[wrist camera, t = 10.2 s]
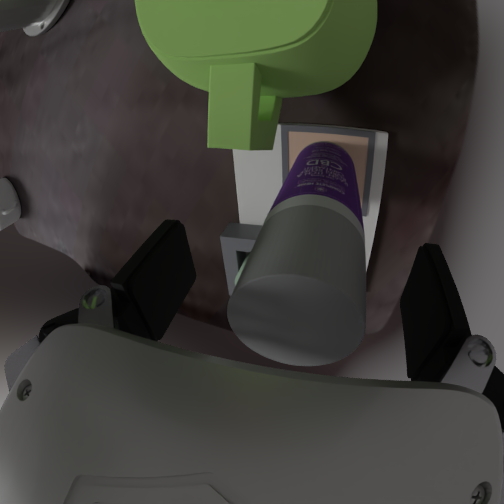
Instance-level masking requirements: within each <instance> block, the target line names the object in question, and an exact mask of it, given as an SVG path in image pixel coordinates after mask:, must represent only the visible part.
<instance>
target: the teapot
mask: <svg viewBox="0 0 504 504" xmlns="http://www.w3.org/2000/svg"><path fill="white" fill-rule="evenodd" d="M135 5H136V12H137V17H138V21H139V25H140V27H141V30H142V33H143V35H144V37H145V39H146V41H147V43H148V44H149V46H150V48H151V49H152V51H153V52H154V53H155V54H156V56H157V57H158V58H159V59H160V60H161V62H162V63H163V64H164V65H165V66H166V67H167V68H168V69H169V70H170V71H171V72H172V73H174V74H175V75H176V76H177V77H178V78H180V79H181V80H183V81H185V82H187V83H188V84H190V85H192V86H194V87H196V88H199V89H202V90H205V91H208V92H209V105H208V147H209V148H225V149H238V150H249V151H254V150H273V146H274V141H275V136H276V130H277V125H278V120H279V115H280V110H281V105H282V100H283V98H288V97H301V96H309V95H317V94H321V93H325V92H328V91H331V90H333V89H335V88H337V87H339V86H341V85H343V84H344V83H345V82H347V81H348V80H349V79H351V77H352V76H353V75H354V74H355V73H356V72H357V71H358V69H359V68H360V66H361V65H362V63H363V61H364V59H365V58H366V56H367V53H368V51H369V49H370V46H371V44H372V41H373V38H374V34H375V30H376V24H377V0H135Z"/></svg>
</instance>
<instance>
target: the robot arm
mask: <svg viewBox="0 0 504 504" xmlns="http://www.w3.org/2000/svg"><path fill="white" fill-rule="evenodd" d="M69 1H70V0H0V32H4V31H8V30H13V29H18V28H23V29H24V31H25V33H26V34H27V35H29V36H37V35H41V34H43V33H45V32H46V31H48V30H49V29H50V28H51V27H52V26H53V25H54V24H55V23H56V21H57V20H58V19H59V18H60V16H61V15H62V13H63V12H64V10H65V8H66V6H67V5H68V3H69ZM195 279H196V272H195V268H194V264H193V260H192V256H191V252H190V248H189V244H188V240H187V236H186V232H185V227H184V225H183V224H181V222H180V221H179V220H165V221H164V222H163V223H162V224H161V225H160V226H159V227H158V228H157V229H156V230H155V231H154V232H153V233H152V235H151V236H150V237H149V238H148V239H147V240H146V241H145V242H144V243H143V244H142V246H141V247H140V248H139V249H138V250H137V251H136V252H135V254H134V255H133V256H132V257H131V258H130V259H129V260H128V262H127V263H126V264H125V265H124V266H123V267H122V269H121V270H120V271H119V272H118V273H117V275H116V276H115V277H114V278H113V279H112V281H111V282H110V283H111V285H112V288H111V289H109V288H108V287H106V286H96V287H93V288H91V289H89V290H88V291H86V292H85V293H84V295H83V296H82V297H81V299H80V302H79V308H77V309H74V310H72V311H69V312H67V313H65V314H62V315H60V316H57V317H55V318H53V319H51V320H49V321H47V322H46V323H45V324H44V325H43V327H42V328H41V330H40V333H39V338H38V336H37V335H36V336H35V337H34V338H32V339H31V340H29V341H28V342H27V343H25V344H24V345H23V346H21V347H20V348H19V349H17V350H16V351H15V352H13V353H12V354H11V355H10V356H9V357H8V358H7V360H6V363H5V373H6V379H7V383H8V387H9V394H8V396H7V398H6V400H5V402H4V404H3V406H2V408H1V410H0V504H504V374H503V373H502V372H501V371H500V370H499V369H498V368H497V367H496V366H494V365H495V361H496V352H495V350H494V347H493V345H492V344H491V342H490V341H489V340H488V339H487V338H485V337H483V336H481V335H471V331H470V328H469V324H468V321H467V317H466V314H465V311H464V308H463V305H462V302H461V299H460V296H459V293H458V291H457V288H456V285H455V283H454V280H453V278H452V275H451V272H450V270H449V267H448V265H447V262H446V260H445V258H444V255H443V254H442V251H441V248H440V246H439V245H437V244H429V243H425V244H424V245H423V246H420V247H419V249H418V252H417V255H416V258H415V261H414V264H413V267H412V270H411V272H410V275H409V278H408V281H407V283H406V286H405V288H404V291H403V294H402V296H401V300H400V308H401V315H402V323H403V331H404V340H405V350H406V362H407V376H408V378H411V381H393V380H376V379H360V378H348V377H336V376H327V375H318V374H310V373H303V372H295V371H289V370H282V369H276V368H270V367H264V366H259V365H253V364H248V363H243V362H237V361H233V360H228V359H224V358H219V357H215V356H210V355H206V354H202V353H197V352H194V351H190V350H186V349H182V348H178V347H174V346H171V345H167V344H164V343H160V342H157V341H158V340H160V339H161V338H162V337H163V335H164V333H165V332H166V330H167V328H168V327H169V325H170V323H171V321H172V319H173V318H174V316H175V314H176V313H177V311H178V309H179V307H180V306H181V304H182V302H183V300H184V299H185V297H186V295H187V294H188V292H189V290H190V288H191V287H192V285H193V283H194V282H195Z"/></svg>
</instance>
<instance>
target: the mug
mask: <svg viewBox="0 0 504 504" xmlns="http://www.w3.org/2000/svg"><path fill="white" fill-rule="evenodd" d="M20 215H21V205H20V201H19V198H18V195H17V193H16V190H15V188H14V187H13V185H12V183H11V182H10V181H9V180H8V179H7V178H1V179H0V231H1V230H2V229H4V228H6V227H7V226H9V225H10V224H12V223H14V222H15V221H17V220H18V219H19V218H20Z"/></svg>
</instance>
